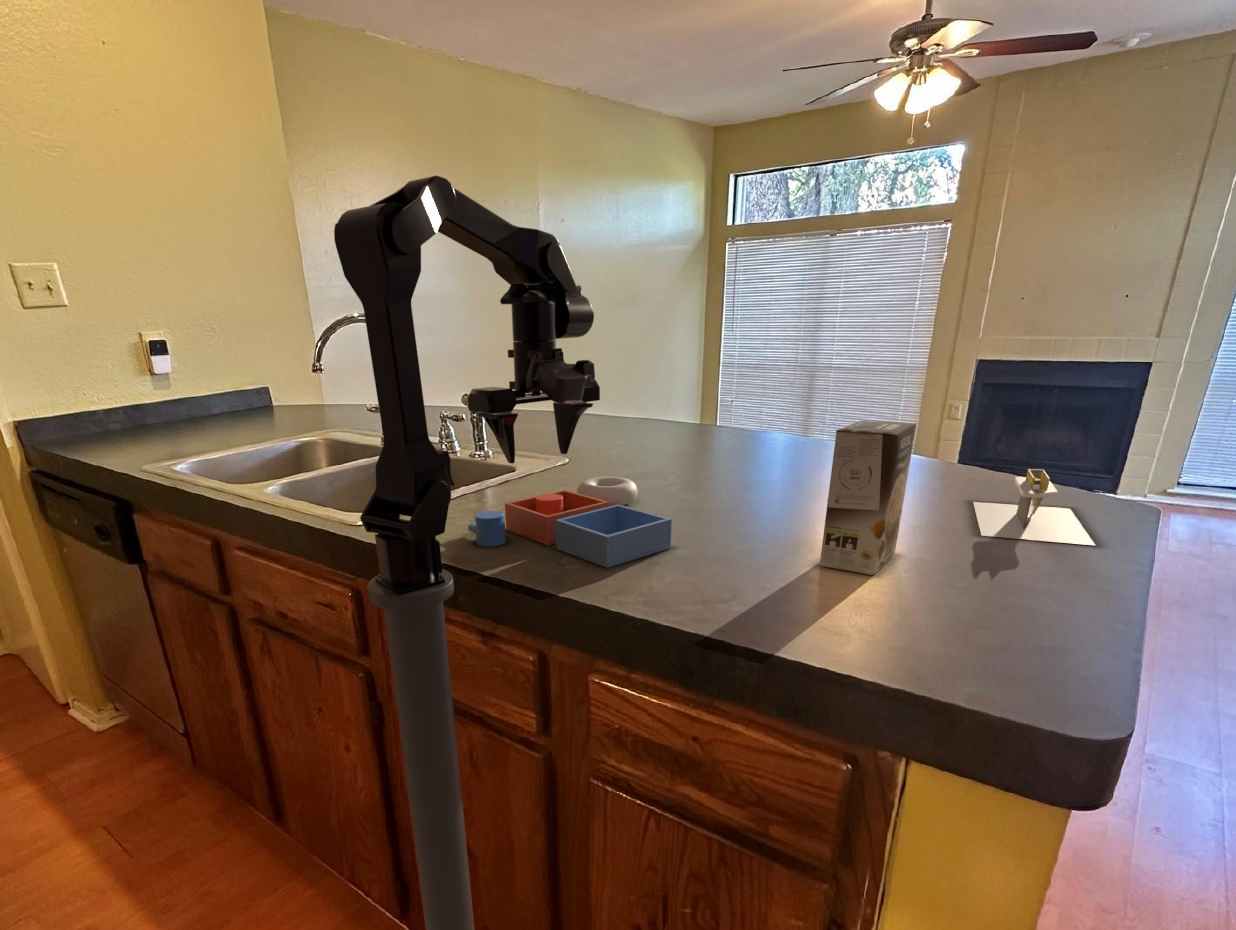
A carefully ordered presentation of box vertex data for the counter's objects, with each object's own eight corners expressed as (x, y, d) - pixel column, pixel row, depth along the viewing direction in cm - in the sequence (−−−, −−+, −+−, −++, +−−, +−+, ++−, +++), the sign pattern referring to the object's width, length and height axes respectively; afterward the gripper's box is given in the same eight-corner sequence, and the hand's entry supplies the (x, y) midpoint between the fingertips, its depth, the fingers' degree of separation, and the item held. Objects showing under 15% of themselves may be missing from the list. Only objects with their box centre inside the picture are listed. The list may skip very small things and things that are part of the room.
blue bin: (607, 568, 85) (607, 537, 83) (556, 548, 92) (555, 519, 91) (670, 548, 91) (671, 518, 89) (617, 531, 98) (618, 504, 97)
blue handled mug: (511, 542, 96) (509, 514, 94) (487, 548, 94) (485, 520, 92) (482, 530, 101) (480, 504, 100) (458, 536, 99) (456, 509, 98)
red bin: (547, 545, 94) (547, 517, 92) (506, 529, 102) (504, 503, 100) (609, 528, 100) (609, 501, 98) (565, 514, 108) (564, 489, 106)
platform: (1069, 508, 100) (1081, 463, 97) (1095, 545, 85) (1110, 493, 82) (972, 501, 105) (981, 458, 102) (981, 535, 90) (991, 486, 88)
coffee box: (875, 576, 78) (897, 434, 72) (818, 566, 82) (834, 430, 76) (896, 554, 85) (918, 421, 79) (842, 545, 89) (858, 418, 83)
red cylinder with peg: (531, 523, 102) (529, 497, 101) (552, 518, 104) (551, 492, 103) (562, 534, 96) (562, 506, 95) (584, 528, 99) (584, 501, 97)
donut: (646, 498, 115) (592, 491, 120) (647, 477, 114) (593, 472, 119) (622, 513, 108) (565, 505, 112) (622, 491, 106) (565, 484, 111)
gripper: (510, 345, 80) (516, 477, 86) (627, 337, 90) (626, 456, 96) (461, 344, 89) (470, 465, 95) (574, 337, 99) (575, 447, 104)
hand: (538, 458), depth 97 cm, fingers open, 9 cm apart
